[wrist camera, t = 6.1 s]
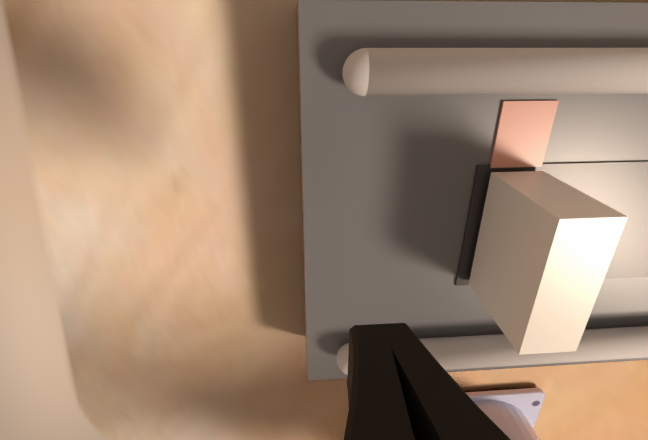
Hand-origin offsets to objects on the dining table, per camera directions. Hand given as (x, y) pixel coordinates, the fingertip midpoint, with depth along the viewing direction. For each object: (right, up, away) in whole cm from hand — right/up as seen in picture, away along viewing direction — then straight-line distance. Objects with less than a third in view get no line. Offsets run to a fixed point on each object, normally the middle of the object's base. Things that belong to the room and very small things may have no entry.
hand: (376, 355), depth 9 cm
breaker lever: (+6, +3, +6) cm, 9 cm away
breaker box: (+10, +4, +9) cm, 14 cm away
